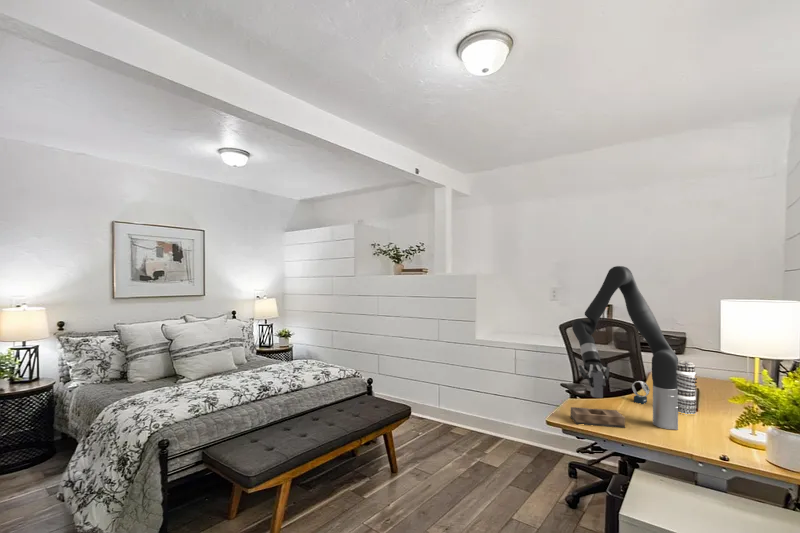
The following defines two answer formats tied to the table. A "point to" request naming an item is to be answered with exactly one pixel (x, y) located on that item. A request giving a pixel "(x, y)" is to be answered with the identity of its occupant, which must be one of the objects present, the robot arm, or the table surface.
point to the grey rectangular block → (597, 384)
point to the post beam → (597, 417)
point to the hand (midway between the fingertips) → (598, 386)
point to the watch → (638, 397)
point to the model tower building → (686, 387)
